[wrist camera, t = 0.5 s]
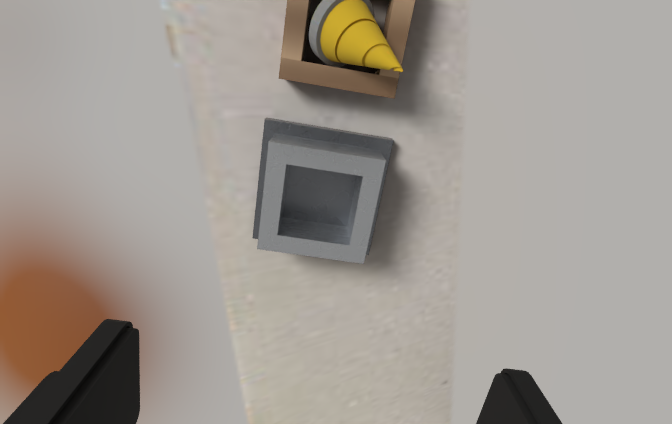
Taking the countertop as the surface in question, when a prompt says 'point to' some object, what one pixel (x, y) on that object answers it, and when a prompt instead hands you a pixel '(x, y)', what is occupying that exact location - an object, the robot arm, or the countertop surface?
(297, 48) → the socket block
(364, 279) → the countertop surface
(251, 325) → the countertop surface
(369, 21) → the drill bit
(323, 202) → the grey hollow square block
